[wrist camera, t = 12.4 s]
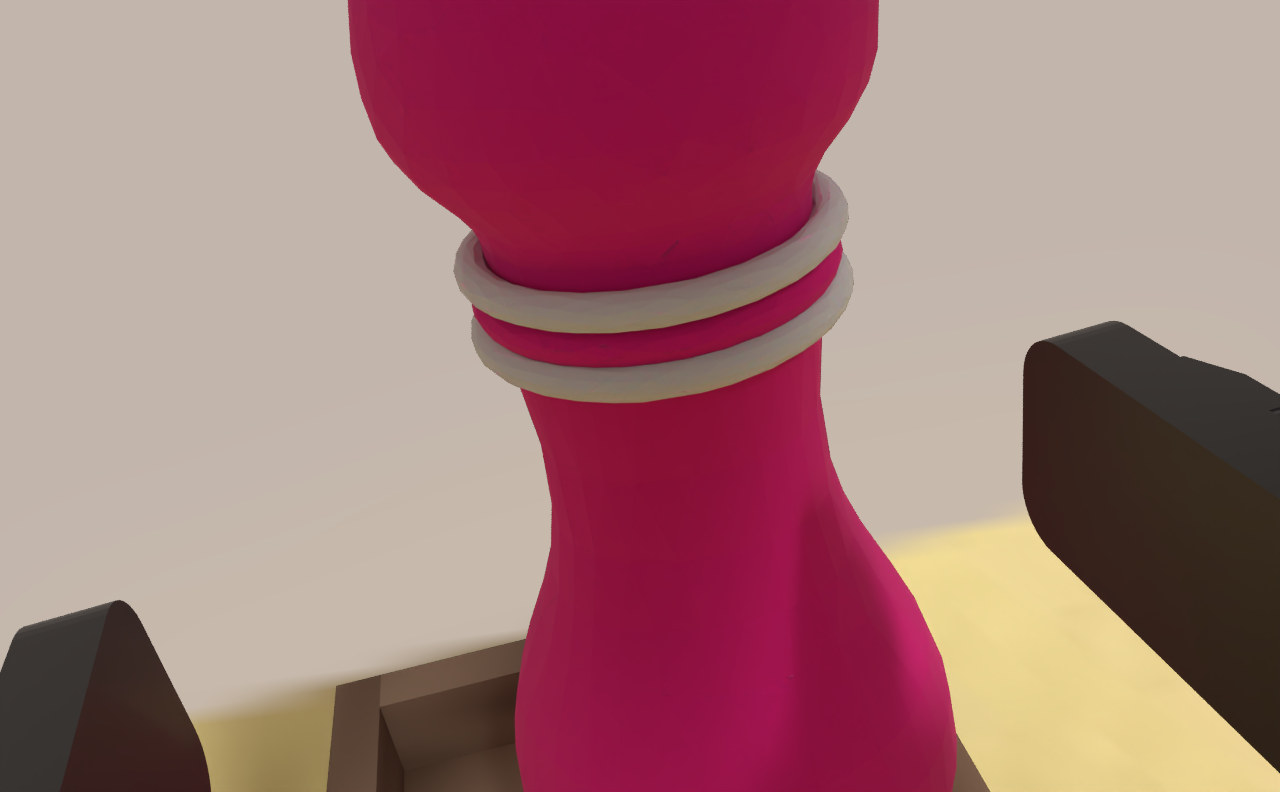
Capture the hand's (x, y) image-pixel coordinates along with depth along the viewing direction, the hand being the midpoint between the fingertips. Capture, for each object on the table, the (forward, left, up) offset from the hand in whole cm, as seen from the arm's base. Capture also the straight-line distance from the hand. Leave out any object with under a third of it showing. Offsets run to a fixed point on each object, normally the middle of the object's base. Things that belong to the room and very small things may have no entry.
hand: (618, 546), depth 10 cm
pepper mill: (+1, -5, -13) cm, 14 cm away
